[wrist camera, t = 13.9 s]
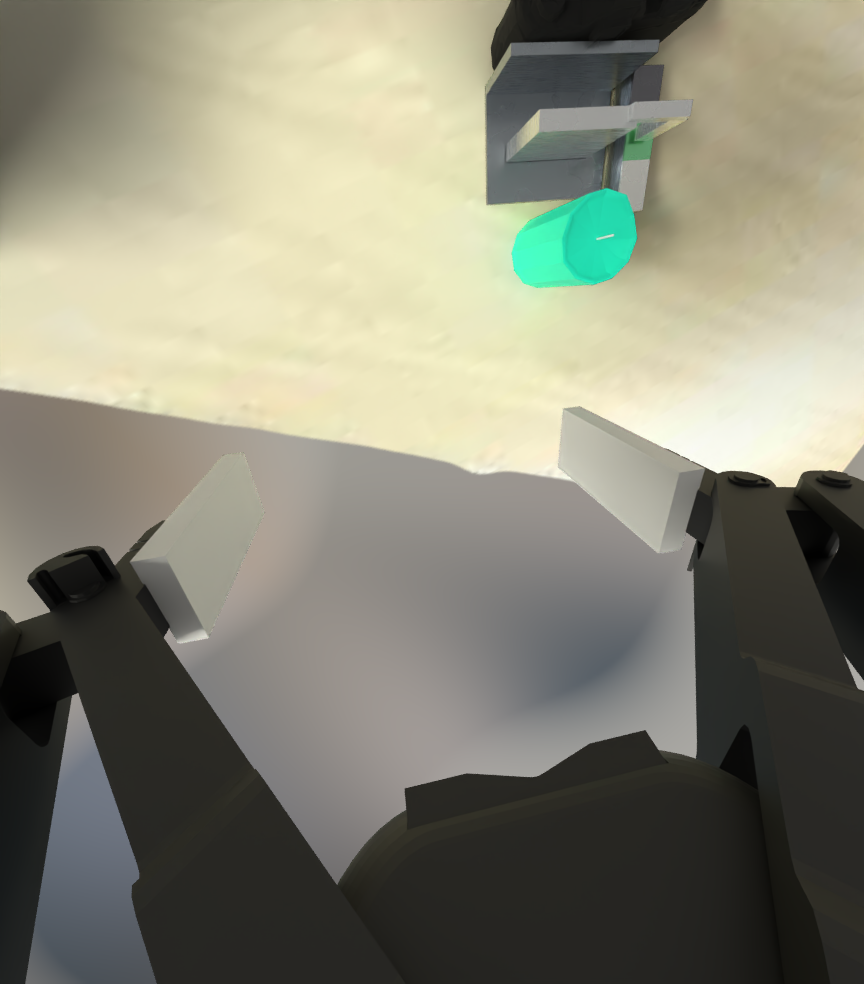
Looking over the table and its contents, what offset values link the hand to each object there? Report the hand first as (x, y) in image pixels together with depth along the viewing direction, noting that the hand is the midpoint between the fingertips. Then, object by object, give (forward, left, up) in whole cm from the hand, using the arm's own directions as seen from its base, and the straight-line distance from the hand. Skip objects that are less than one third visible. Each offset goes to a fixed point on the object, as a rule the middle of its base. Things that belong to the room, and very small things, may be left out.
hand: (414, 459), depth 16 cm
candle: (+17, +8, -27) cm, 33 cm away
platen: (+19, +16, -26) cm, 36 cm away
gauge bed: (+19, +16, -27) cm, 36 cm away
